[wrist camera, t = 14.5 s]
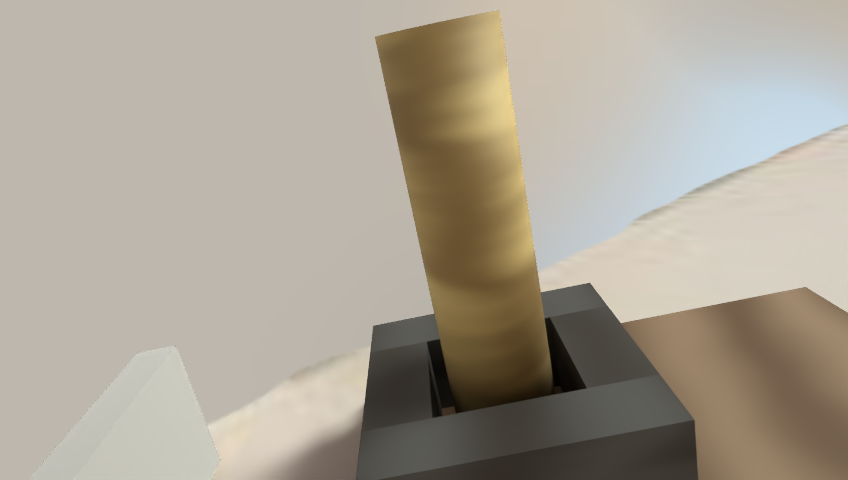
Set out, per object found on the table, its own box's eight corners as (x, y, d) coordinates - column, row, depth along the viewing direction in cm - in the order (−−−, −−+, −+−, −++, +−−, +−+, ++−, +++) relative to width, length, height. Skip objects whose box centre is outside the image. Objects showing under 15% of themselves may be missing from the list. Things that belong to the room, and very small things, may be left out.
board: (805, 313, 30) (806, 223, 28) (1120, 526, 17) (1156, 380, 15) (391, 393, 31) (369, 310, 29) (380, 658, 18) (339, 533, 16)
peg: (548, 398, 25) (490, 13, 20) (573, 461, 22) (509, 7, 16) (458, 415, 25) (377, 37, 20) (467, 480, 22) (371, 36, 17)
